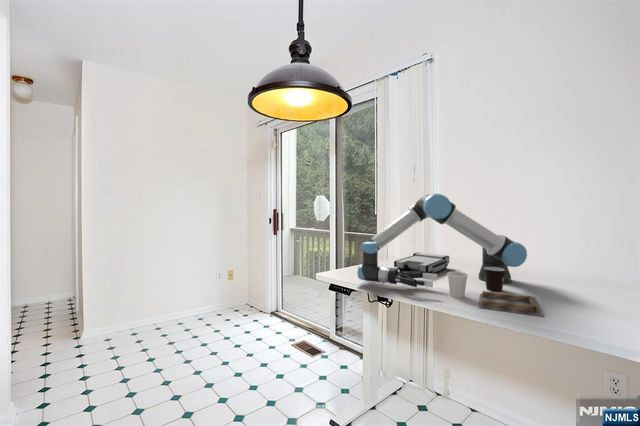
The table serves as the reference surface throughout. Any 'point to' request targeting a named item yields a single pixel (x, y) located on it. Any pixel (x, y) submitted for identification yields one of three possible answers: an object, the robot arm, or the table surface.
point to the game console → (423, 263)
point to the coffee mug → (494, 278)
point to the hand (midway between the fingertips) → (435, 280)
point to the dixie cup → (457, 284)
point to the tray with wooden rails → (510, 303)
